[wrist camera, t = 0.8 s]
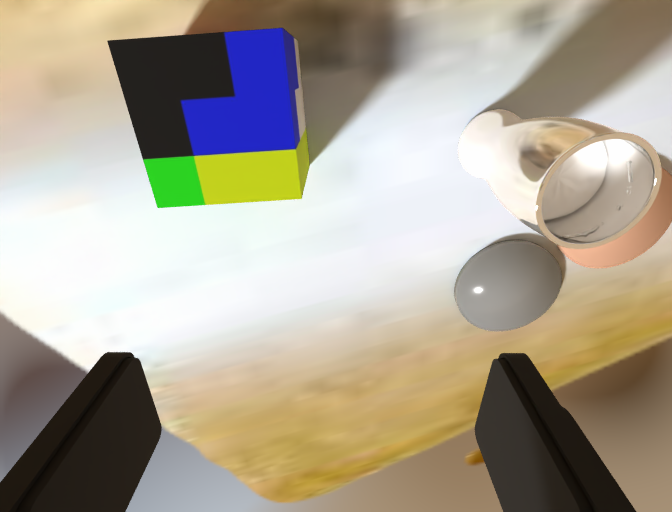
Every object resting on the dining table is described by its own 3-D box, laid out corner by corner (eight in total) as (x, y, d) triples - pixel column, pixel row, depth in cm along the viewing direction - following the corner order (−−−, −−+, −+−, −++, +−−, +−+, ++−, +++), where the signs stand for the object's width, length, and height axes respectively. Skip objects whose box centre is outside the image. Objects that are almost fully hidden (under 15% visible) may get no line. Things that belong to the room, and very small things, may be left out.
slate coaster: (523, 219, 36) (528, 223, 35) (574, 287, 40) (580, 292, 39) (434, 283, 40) (436, 288, 39) (488, 341, 43) (492, 346, 43)
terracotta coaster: (642, 133, 33) (651, 135, 32) (686, 217, 36) (695, 220, 36) (532, 212, 36) (537, 216, 35) (583, 281, 40) (588, 286, 39)
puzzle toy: (297, 40, 29) (282, 27, 20) (309, 165, 34) (301, 198, 25) (175, 49, 30) (107, 40, 21) (203, 171, 34) (157, 207, 25)
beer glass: (459, 102, 31) (552, 127, 18) (539, 104, 32) (691, 129, 18) (446, 182, 35) (518, 252, 21) (519, 182, 35) (636, 253, 21)
